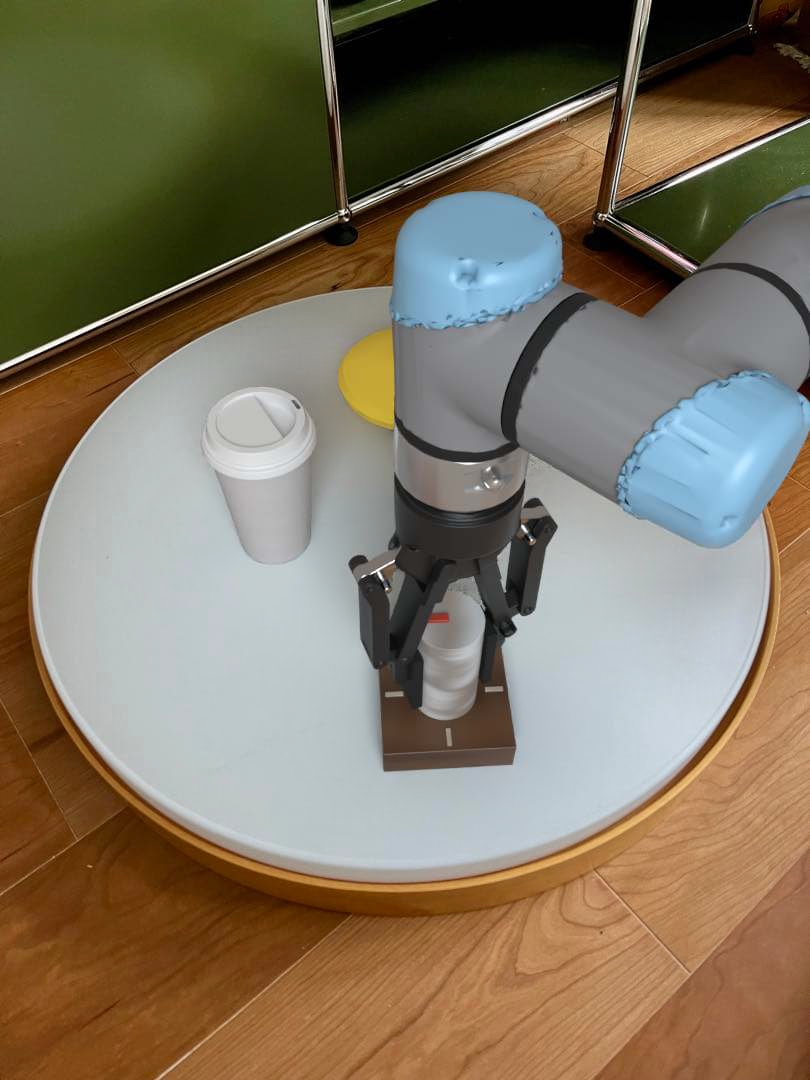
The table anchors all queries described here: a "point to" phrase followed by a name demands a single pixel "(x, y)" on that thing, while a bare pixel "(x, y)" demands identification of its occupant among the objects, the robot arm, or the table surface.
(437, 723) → the panel
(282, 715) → the table surface
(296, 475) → the coffee cup
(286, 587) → the table surface
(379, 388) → the yellow funnel lid
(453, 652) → the tap knob
